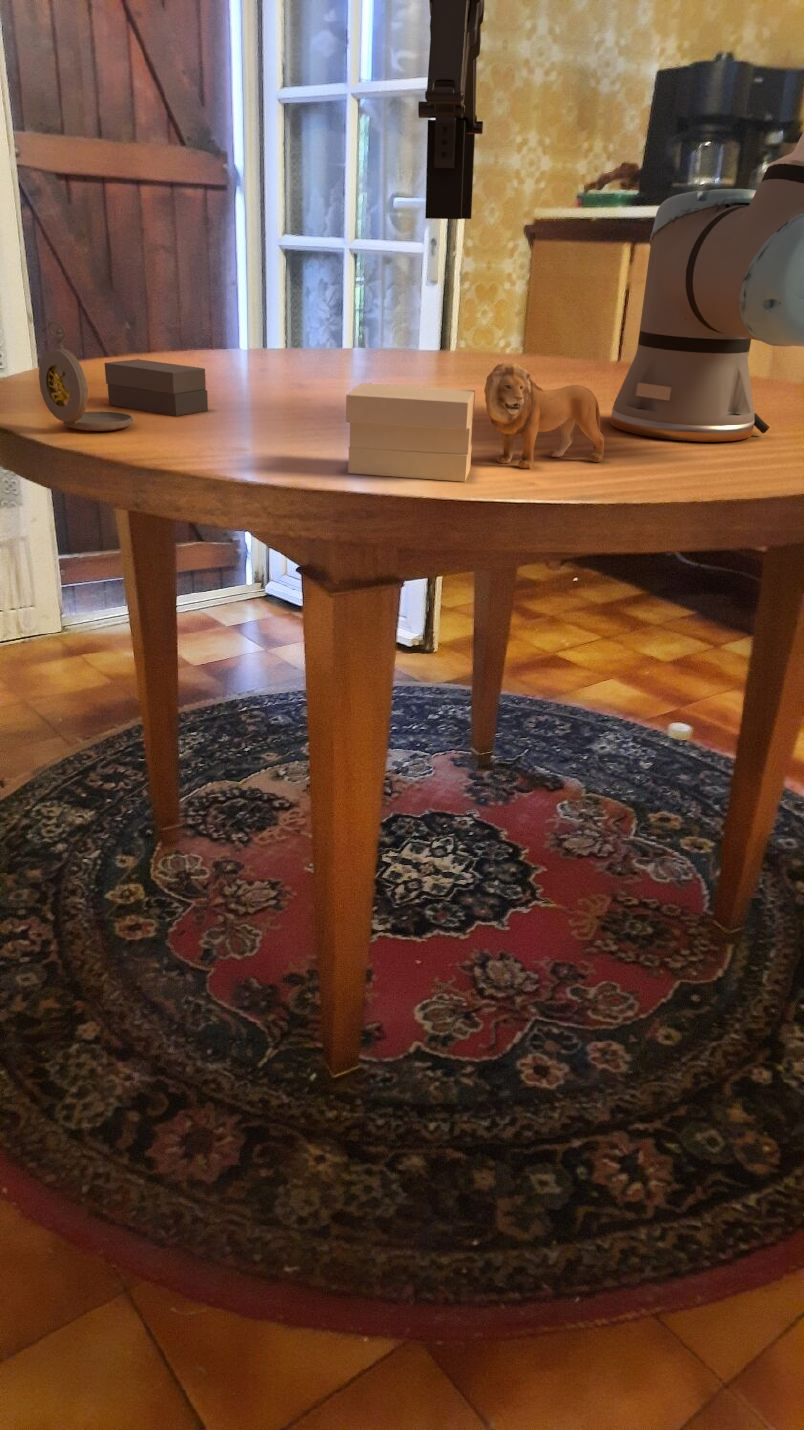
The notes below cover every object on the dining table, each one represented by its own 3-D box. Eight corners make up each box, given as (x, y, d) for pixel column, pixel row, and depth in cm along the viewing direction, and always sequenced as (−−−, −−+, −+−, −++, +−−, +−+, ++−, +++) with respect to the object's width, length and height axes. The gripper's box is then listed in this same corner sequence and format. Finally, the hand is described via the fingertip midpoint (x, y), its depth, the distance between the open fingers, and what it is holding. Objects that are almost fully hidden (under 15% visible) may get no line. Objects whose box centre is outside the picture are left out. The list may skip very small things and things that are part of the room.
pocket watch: (142, 423, 103) (135, 318, 99) (113, 439, 95) (104, 325, 91) (63, 419, 103) (53, 313, 99) (28, 434, 96) (15, 320, 92)
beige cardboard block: (471, 469, 90) (474, 418, 88) (466, 482, 85) (469, 428, 83) (358, 460, 91) (359, 410, 89) (346, 473, 86) (347, 420, 84)
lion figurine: (504, 476, 88) (513, 367, 84) (464, 464, 92) (471, 359, 88) (619, 460, 96) (632, 360, 92) (578, 450, 100) (589, 353, 96)
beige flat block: (473, 416, 89) (475, 390, 88) (466, 430, 83) (468, 402, 82) (360, 409, 90) (361, 383, 89) (345, 422, 84) (346, 394, 83)
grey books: (208, 410, 111) (206, 368, 109) (176, 416, 107) (173, 372, 106) (140, 399, 116) (137, 359, 114) (107, 404, 112) (104, 362, 110)
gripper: (426, -62, 86) (419, 218, 95) (388, -160, 64) (384, 218, 73) (515, -63, 85) (500, 219, 94) (508, -162, 63) (489, 220, 72)
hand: (450, 219), depth 84 cm, fingers open, 13 cm apart
